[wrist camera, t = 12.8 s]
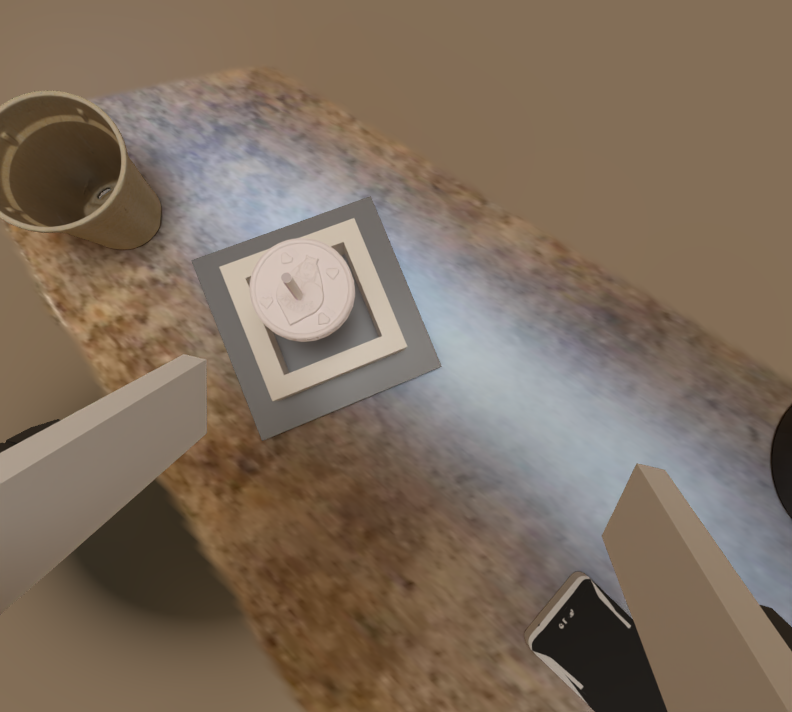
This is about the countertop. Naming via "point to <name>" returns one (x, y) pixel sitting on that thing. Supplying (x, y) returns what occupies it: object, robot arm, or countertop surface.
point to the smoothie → (302, 289)
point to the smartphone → (595, 649)
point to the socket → (330, 356)
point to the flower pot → (71, 172)
